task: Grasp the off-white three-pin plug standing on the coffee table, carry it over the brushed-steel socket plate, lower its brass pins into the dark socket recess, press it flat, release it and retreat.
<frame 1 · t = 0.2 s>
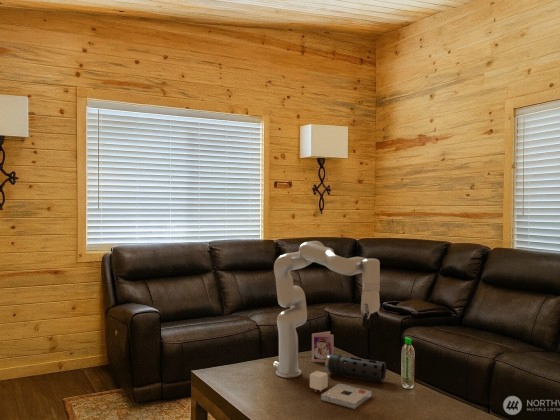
hand: (370, 325, 221), 31 cm above the table, tool pointing down, fingers open, 9 cm apart
plug: (318, 391, 225), on the table
socket: (346, 398, 217), on the table
muzzle brake: (355, 379, 241), on the table
greeting card: (323, 360, 268), on the table
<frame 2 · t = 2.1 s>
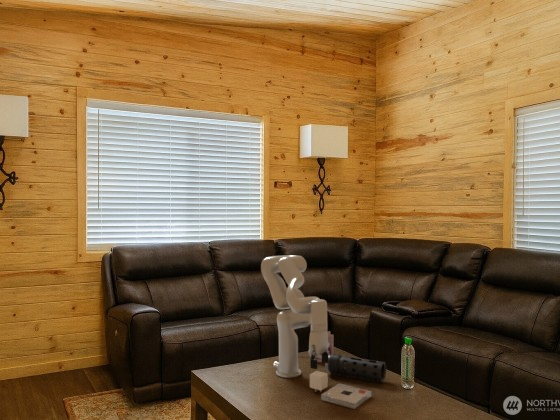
hand: (319, 365, 224), 12 cm above the table, tool pointing down, fingers open, 9 cm apart
nothing on the table moved.
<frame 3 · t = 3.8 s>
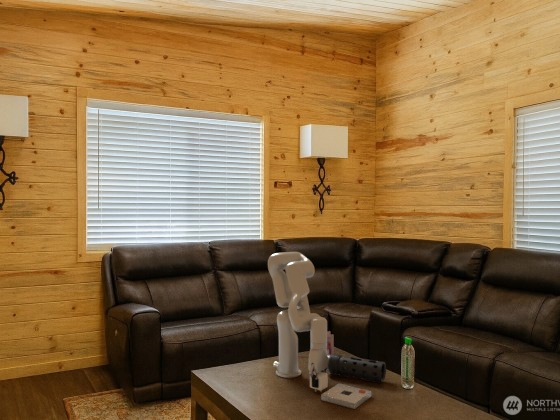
hand: (318, 384, 225), 3 cm above the table, tool pointing down, fingers closed on plug, 5 cm apart
plug: (318, 391, 225), on the table, touching gripper
everything else where it was.
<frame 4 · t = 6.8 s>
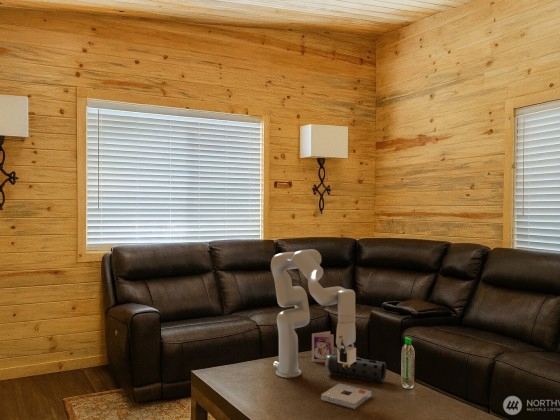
hand: (346, 359, 216), 17 cm above the table, tool pointing down, fingers closed on plug, 5 cm apart
plug: (346, 366, 216), point 14 cm above the table, touching gripper
everything else where it was.
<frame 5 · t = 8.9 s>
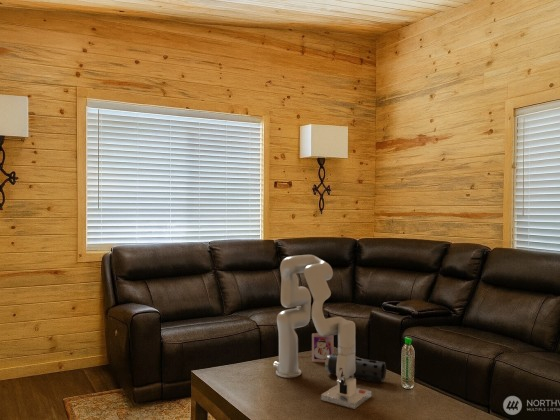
hand: (346, 390, 217), 3 cm above the table, tool pointing down, fingers closed on plug, 5 cm apart
plug: (346, 397, 217), point 1 cm above the table, touching gripper, socket
everything else where it was.
when the fingers open (3 cm above the table, at t = 10.0 s): plug stays where it is, resting on socket.
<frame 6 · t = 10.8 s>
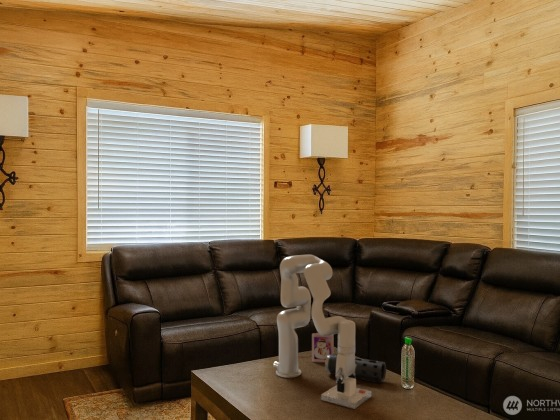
hand: (346, 388, 217), 4 cm above the table, tool pointing down, fingers open, 9 cm apart
plug: (346, 397, 217), resting on socket
everything else where it was.
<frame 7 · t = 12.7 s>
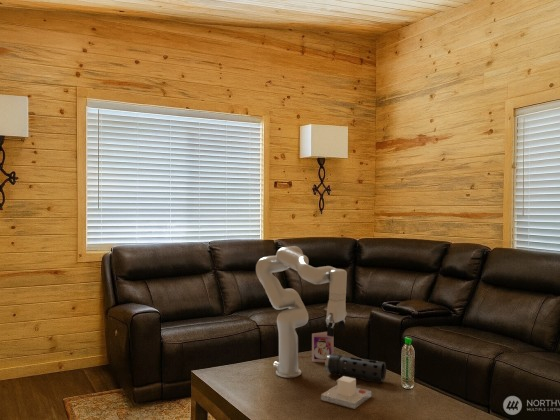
hand: (335, 333, 227), 25 cm above the table, tool pointing down, fingers open, 9 cm apart
nothing on the table moved.
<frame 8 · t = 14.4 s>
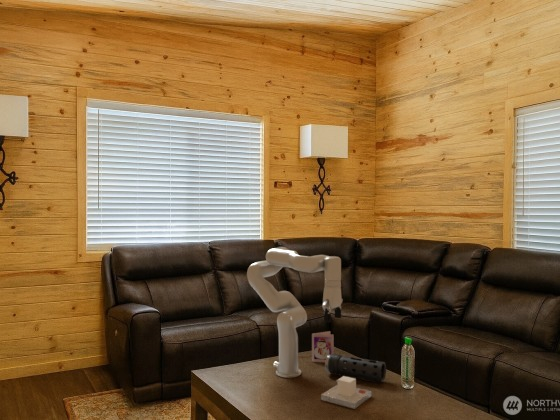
hand: (332, 319, 233), 30 cm above the table, tool pointing down, fingers open, 9 cm apart
nothing on the table moved.
at the end: plug 0.1 cm off-centre on the socket, point 0.5 cm above the socket's base; plug tilted 0°; the gripper is holding nothing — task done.
